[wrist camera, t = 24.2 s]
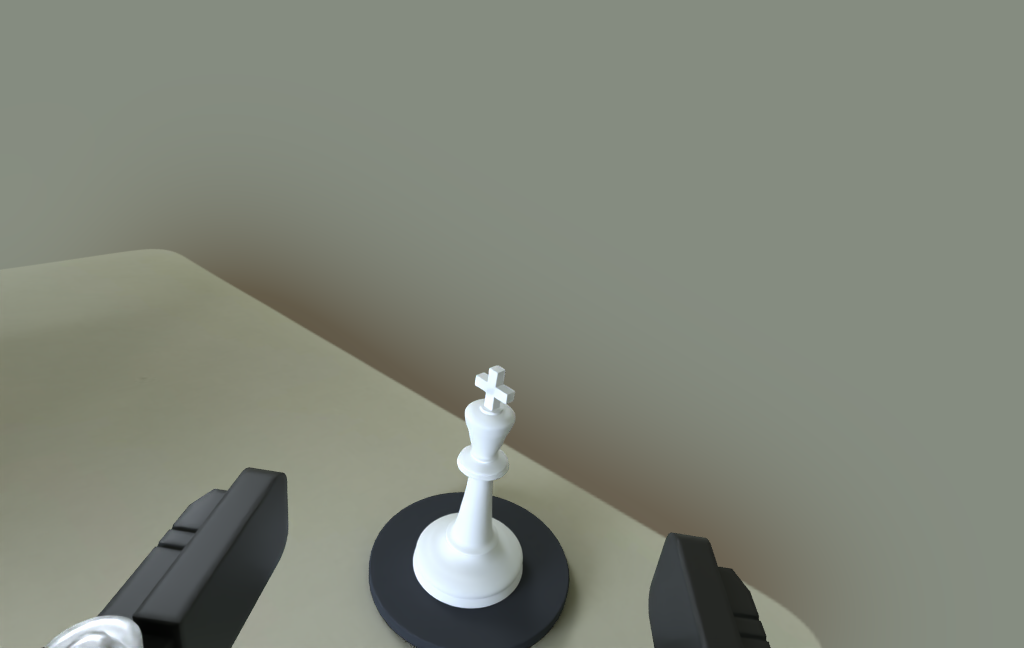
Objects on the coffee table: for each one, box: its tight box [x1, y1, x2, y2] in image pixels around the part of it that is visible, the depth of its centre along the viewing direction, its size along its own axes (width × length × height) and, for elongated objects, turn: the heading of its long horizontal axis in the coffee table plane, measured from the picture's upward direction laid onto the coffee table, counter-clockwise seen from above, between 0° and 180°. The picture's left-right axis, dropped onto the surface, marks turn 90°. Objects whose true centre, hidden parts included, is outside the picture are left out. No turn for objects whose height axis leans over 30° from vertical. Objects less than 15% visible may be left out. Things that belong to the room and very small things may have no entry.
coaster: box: [369, 492, 569, 648], centre depth 27 cm, size 9×9×1 cm
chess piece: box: [413, 365, 523, 608], centre depth 24 cm, size 5×5×10 cm
